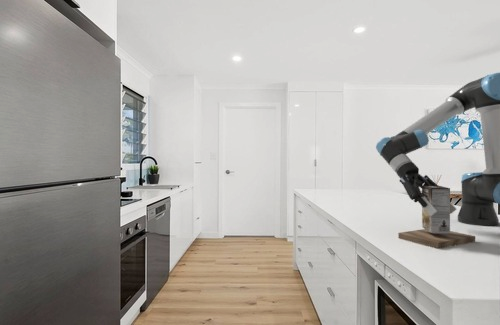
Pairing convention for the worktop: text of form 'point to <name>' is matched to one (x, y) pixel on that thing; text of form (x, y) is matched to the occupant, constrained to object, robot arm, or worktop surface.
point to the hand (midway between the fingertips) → (443, 212)
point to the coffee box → (441, 203)
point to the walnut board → (436, 238)
